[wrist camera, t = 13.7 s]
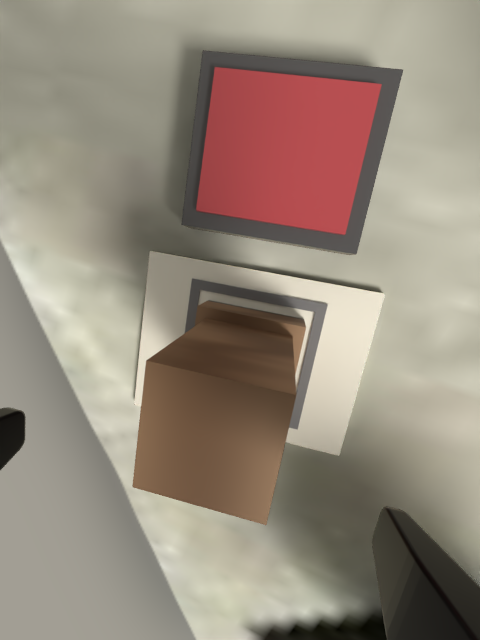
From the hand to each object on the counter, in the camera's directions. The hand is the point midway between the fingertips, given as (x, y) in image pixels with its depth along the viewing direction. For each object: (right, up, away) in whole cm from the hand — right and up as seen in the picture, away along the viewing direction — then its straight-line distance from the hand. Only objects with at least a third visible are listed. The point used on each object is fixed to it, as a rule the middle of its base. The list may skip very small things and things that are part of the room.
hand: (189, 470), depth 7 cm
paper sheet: (+2, +2, +9) cm, 9 cm away
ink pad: (+3, +11, +7) cm, 13 cm away
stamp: (+2, +2, +9) cm, 9 cm away
